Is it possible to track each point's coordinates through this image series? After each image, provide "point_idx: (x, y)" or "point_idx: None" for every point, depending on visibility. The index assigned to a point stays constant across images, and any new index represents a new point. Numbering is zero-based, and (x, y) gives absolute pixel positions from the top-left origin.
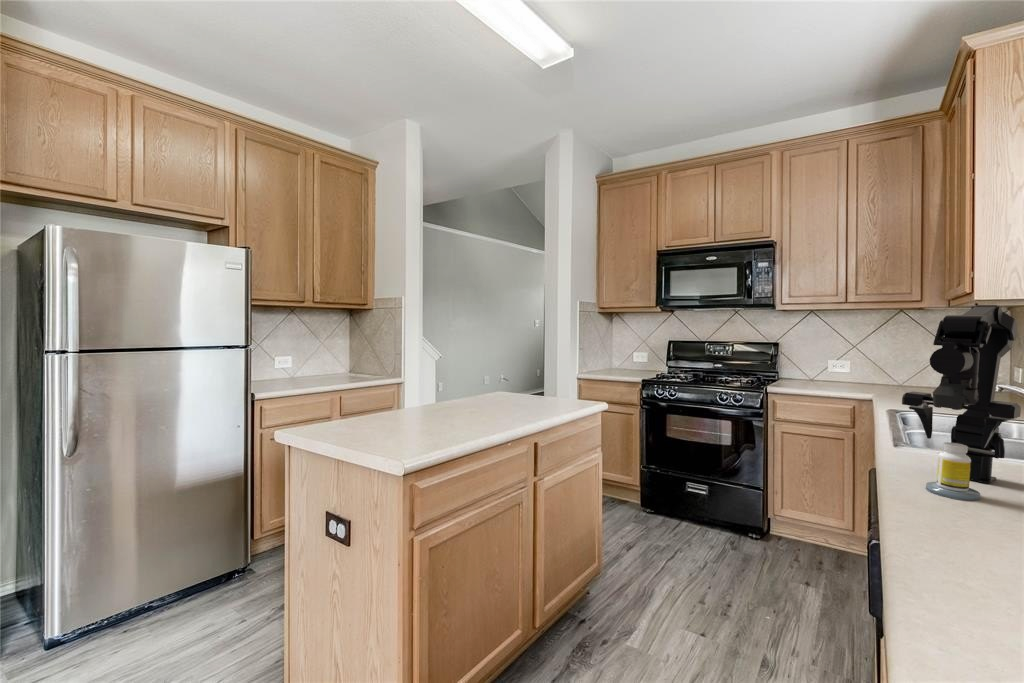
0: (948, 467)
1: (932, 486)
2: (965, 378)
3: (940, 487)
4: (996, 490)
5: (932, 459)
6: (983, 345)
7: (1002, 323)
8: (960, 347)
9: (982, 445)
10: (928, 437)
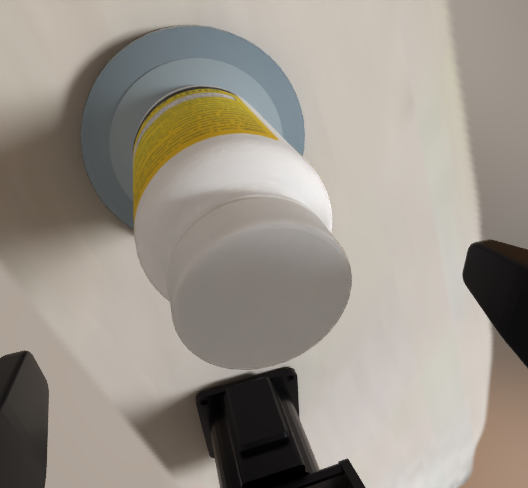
0: (221, 116)
1: (264, 84)
2: None
3: None
4: (145, 357)
5: (388, 455)
6: None
7: None
8: None
9: (5, 366)
10: (485, 244)
